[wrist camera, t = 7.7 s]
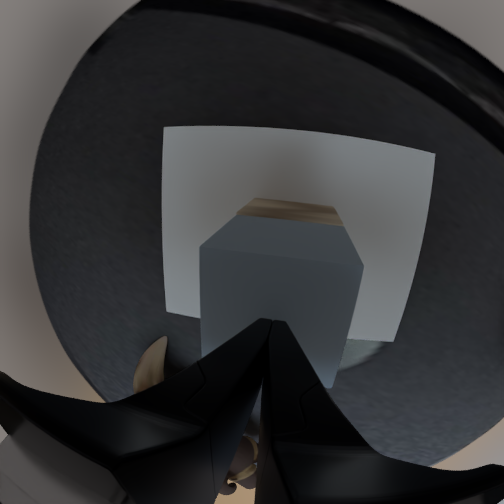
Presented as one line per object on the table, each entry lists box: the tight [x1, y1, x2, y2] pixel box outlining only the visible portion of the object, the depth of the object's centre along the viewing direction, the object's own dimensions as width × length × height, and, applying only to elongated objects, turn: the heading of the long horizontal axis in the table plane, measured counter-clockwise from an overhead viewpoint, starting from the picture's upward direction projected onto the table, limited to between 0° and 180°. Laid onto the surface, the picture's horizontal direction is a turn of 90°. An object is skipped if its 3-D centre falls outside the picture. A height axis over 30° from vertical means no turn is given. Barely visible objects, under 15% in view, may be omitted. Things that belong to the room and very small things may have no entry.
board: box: [162, 126, 435, 342], centre depth 19 cm, size 18×14×1 cm
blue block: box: [199, 215, 364, 388], centre depth 12 cm, size 5×5×5 cm
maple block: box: [236, 198, 344, 226], centre depth 16 cm, size 5×5×5 cm
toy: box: [133, 336, 259, 495], centre depth 21 cm, size 11×8×15 cm
